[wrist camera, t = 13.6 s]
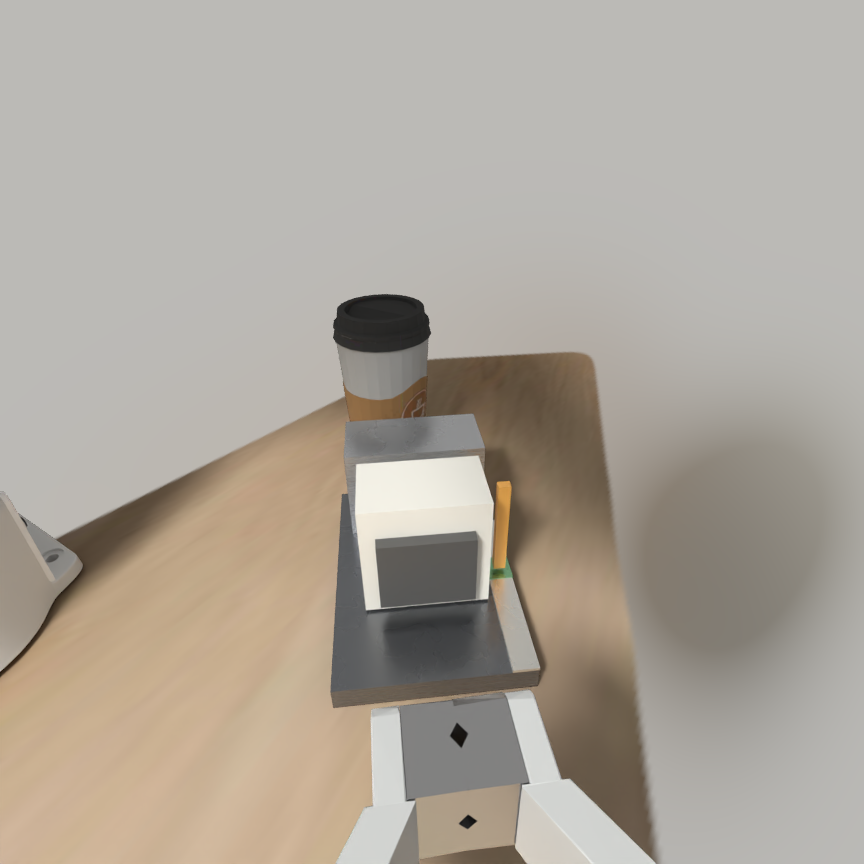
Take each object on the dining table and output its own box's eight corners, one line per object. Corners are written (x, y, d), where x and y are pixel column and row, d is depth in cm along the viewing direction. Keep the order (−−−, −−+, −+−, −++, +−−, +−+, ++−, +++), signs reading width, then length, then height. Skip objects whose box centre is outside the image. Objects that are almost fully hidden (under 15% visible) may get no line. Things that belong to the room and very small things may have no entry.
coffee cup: (400, 492, 48) (391, 332, 40) (329, 464, 52) (308, 313, 44) (448, 448, 54) (449, 301, 46) (381, 426, 58) (371, 287, 50)
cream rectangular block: (514, 606, 35) (524, 510, 31) (366, 620, 34) (354, 523, 30) (496, 544, 40) (502, 453, 36) (365, 555, 39) (356, 464, 35)
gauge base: (538, 685, 32) (553, 584, 28) (333, 707, 31) (314, 606, 27) (482, 497, 47) (486, 412, 43) (343, 508, 46) (332, 422, 42)
